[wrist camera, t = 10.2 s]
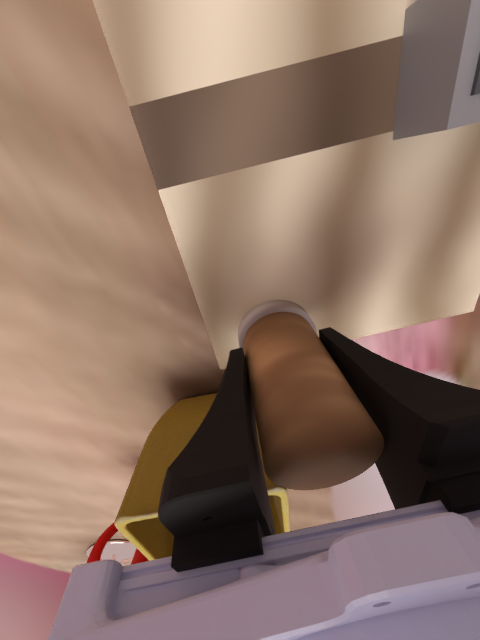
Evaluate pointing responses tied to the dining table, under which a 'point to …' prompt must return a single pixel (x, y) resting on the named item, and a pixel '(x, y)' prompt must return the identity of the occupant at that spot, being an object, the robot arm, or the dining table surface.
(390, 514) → the robot arm
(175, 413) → the flower pot
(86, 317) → the dining table surface
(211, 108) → the board
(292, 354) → the brown cylinder
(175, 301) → the dining table surface
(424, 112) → the box
